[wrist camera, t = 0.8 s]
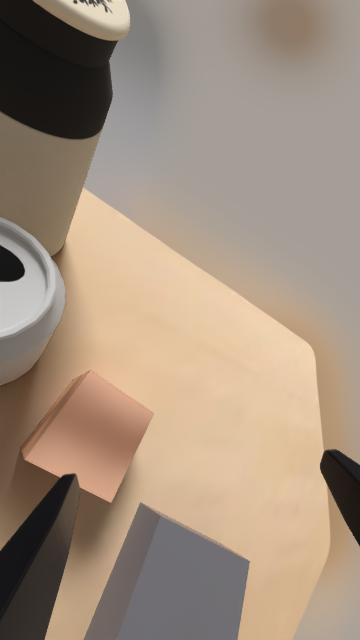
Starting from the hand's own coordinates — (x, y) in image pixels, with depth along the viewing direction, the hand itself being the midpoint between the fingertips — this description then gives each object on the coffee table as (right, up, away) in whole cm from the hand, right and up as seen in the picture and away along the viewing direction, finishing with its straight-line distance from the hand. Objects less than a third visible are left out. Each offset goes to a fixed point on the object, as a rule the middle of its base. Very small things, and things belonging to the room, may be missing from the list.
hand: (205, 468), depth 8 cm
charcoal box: (-3, -19, +11) cm, 22 cm away
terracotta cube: (-10, -4, +12) cm, 16 cm away
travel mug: (-17, +15, +14) cm, 26 cm away
